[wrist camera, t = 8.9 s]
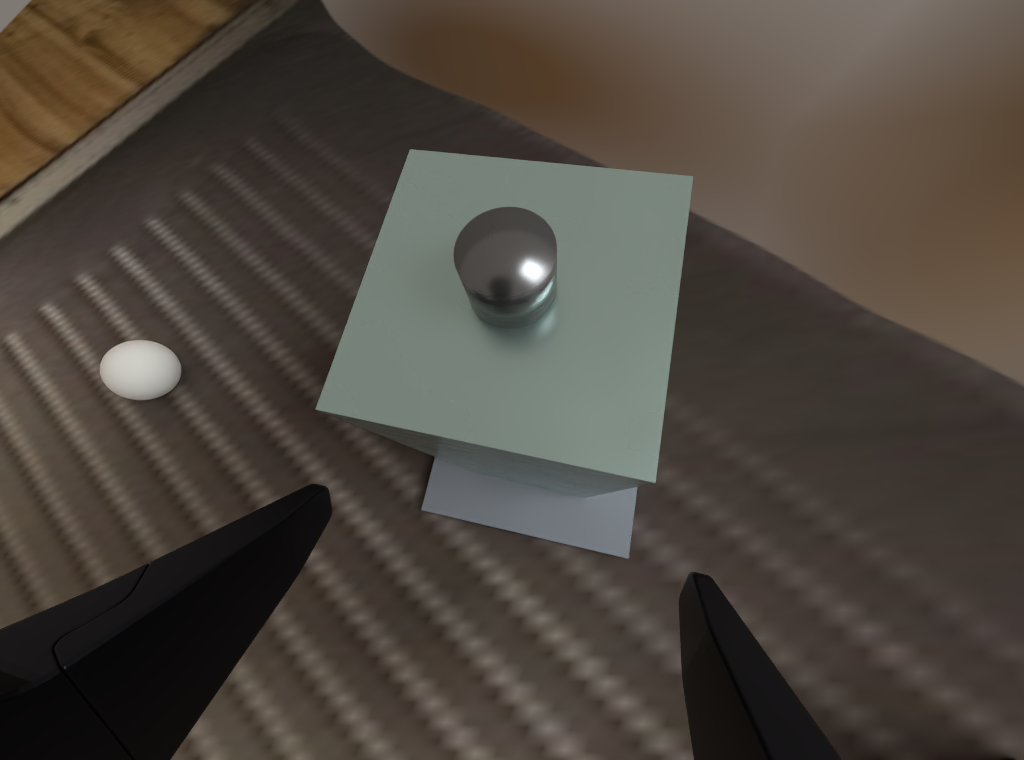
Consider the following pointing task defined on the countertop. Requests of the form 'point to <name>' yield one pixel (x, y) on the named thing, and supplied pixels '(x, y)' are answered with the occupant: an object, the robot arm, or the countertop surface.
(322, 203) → the countertop surface
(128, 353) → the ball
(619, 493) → the mat
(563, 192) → the cover
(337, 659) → the countertop surface
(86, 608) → the robot arm
